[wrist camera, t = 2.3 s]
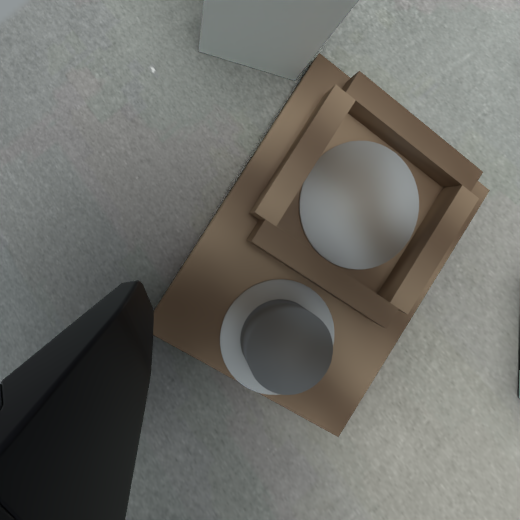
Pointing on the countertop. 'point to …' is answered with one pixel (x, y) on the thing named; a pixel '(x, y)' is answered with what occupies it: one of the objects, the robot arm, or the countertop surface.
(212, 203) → the countertop surface
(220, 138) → the countertop surface
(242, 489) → the countertop surface
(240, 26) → the tall white box
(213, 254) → the wooden holder board
